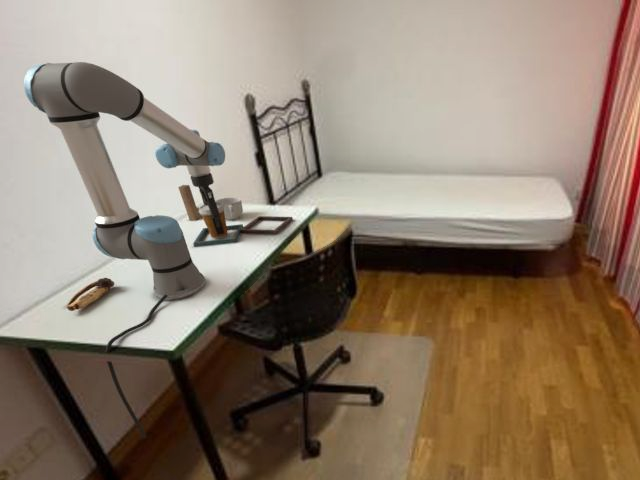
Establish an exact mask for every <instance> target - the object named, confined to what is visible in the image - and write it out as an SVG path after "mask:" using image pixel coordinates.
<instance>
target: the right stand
mask: <svg viewBox="0 0 640 480" xmlns="http://www.w3.org/2000/svg"><path fill="white" fill-rule="evenodd" d="M261 221H266V222H267V221H268V222H269V221H270V222H271V221H273V222H275V221H276V222H282V223H280V224H279V225H278V226H277V227H276V228H275V229H258V228H257V229H256V228H255V229H252V228H253V227H254V226H255V225H257V224H258V223H259V222H261ZM293 221H294V218H293V216H275V215H274V216H269V215H268V216H267V215H258V216H256V217H255V218H254V219H253V220H251V221H250V222H249V223H247V224H246V225H245V226H243V228H242V229H240V233H241V234H247V235H250V234H251V235H277V234H279V233H280V232H281V231H283V229H285V228H286V227H287V226H288V225H290V223H291V222H293Z"/></svg>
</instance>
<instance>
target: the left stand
mask: <svg viewBox="0 0 640 480" xmlns="http://www.w3.org/2000/svg"><path fill="white" fill-rule="evenodd" d="M226 226H227V231H231V230H232V231H233V230H236V231H235V233H234V235H233V237H230V238H218V239H211V240H210V239H209V240H203V239H204V237H205V236H206V234H207V233H210V232H209V230H208V228H207V227H203V228H202V230H201V231H200V233H199V234H198V235H197V237H196V238H195V240H194V242H193V243H192V244H193V246H194V247H206V246H214V245H215V246H216V245H224V244H234V243H237V242H238V240H239V238H240V236H241V234H242V233H240V229H242V228H243V227H244V224H243V223H241V224H231V225H226Z"/></svg>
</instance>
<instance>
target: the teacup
mask: <svg viewBox="0 0 640 480" xmlns="http://www.w3.org/2000/svg"><path fill="white" fill-rule="evenodd" d="M215 202H216V203H221V204H222V205H223V206H224V214H225V220H228V221H229V220H232V221H233V220H237V219H239V218H240V217H241V216H242V215H243V212H244V209H243V204H242V203H243V202H242V199H241V197H224V198H219V199H217V200H215Z"/></svg>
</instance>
